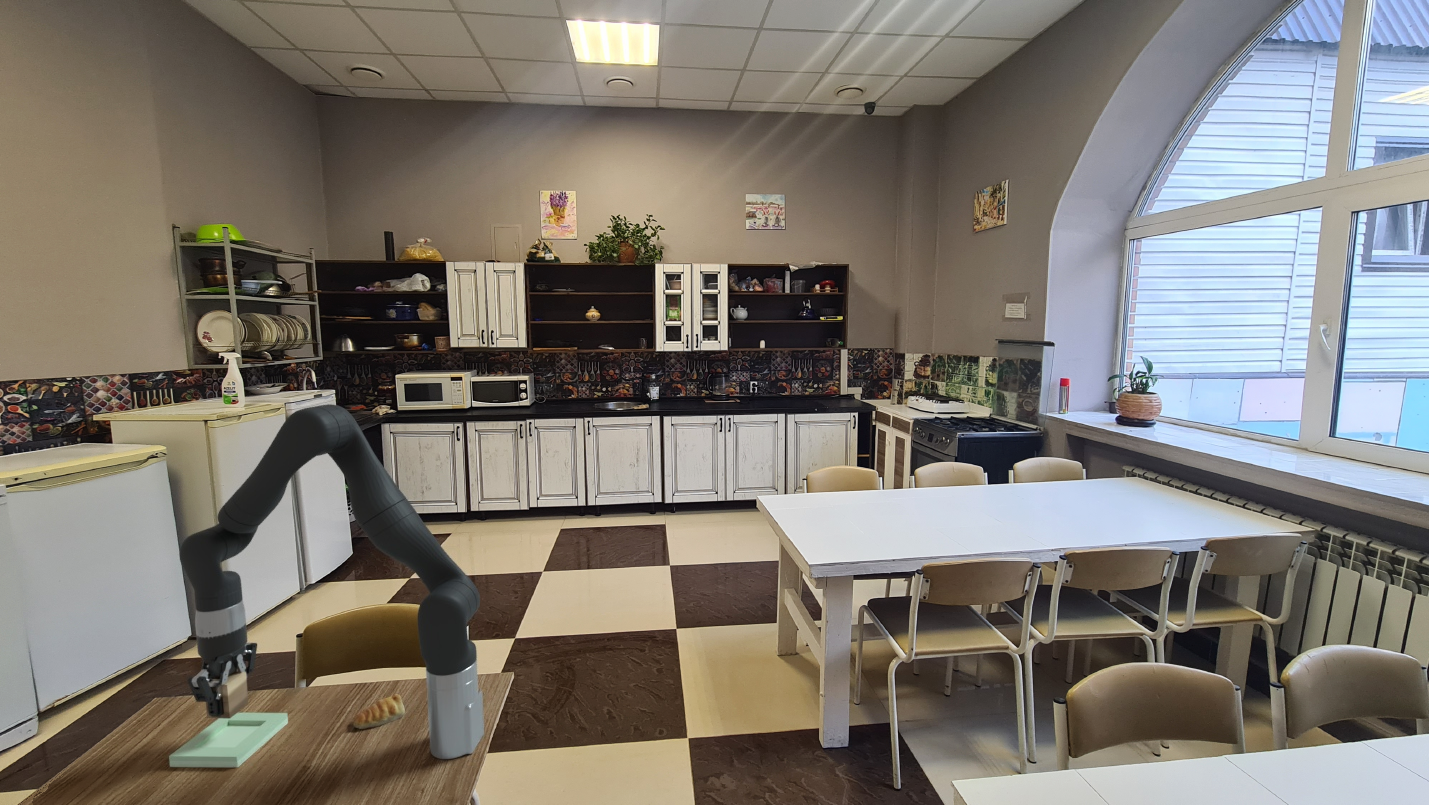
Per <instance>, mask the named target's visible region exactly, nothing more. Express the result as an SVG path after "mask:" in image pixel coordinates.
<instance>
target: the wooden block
mask: <svg viewBox="0 0 1429 805" xmlns="http://www.w3.org/2000/svg"><path fill="white" fill-rule="evenodd" d="M213 680H214V681H220V679H213ZM247 680H248V679H246V672H242V673H231V674H229V675H228V679H227V684H225V685H224V686H222V689H223V693H222V697H223V707H224V714H223V715H221V716H220V717H212V716H210V715H209V712H208V702H205V707H206V709H205V710H206V718H207V719H219V718H229V719H230V718H231V717H233V716H234V715H235V714H236V713H240V711H241V710H243V709H244V708H245V707H247V706H249V696H248V695H249V694H248V681H247ZM212 688H213V692H216V687H212Z"/></svg>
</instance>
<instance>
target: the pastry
mask: <svg viewBox="0 0 1429 805" xmlns="http://www.w3.org/2000/svg"><path fill="white" fill-rule="evenodd" d="M405 713H406V710H405V706H404V704H403V700H402V696H401V695H400V694H397V693H394V694H393V695H391V696H388V697H384V698H382V699H380V698H379V699H378V700H376V701H375V702H374V703H372V704H371V705H370V706H368V707H365V708H364V709H363V710H362V711H360V712H359V713H357V714H356V716H355V717H354V719H353V727H354V728H356V729H359V730H365V729H369V728H374V727H381V726H382V725H385V724H388V723H391V722H394V721H396V720H399V719H401V718H403V717H404V716H405Z"/></svg>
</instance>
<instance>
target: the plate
mask: <svg viewBox="0 0 1429 805" xmlns="http://www.w3.org/2000/svg"><path fill="white" fill-rule="evenodd" d="M288 716H289V715H288V712H238V713H236V714H235V715H234V716H233V717H231V718H230V719H229V718H216V720H214V721H213V722H212V723H210V724H209V725H208V726H206V727H205V728H204V729H203V730H201V732H198V733H197V734H196V735H195V736H193V737H192V738H191V739H190V740H188V741H187V742H186V743H184V744H183V745H182V746H181V747H179V748H178V749H176V750H175V751H174V752H173V753H171V754H170V755H169V756H168V761H169V767H170V768H239V767H240V766H241V765H242V764H243V763H244V762H246V761H247V760H248V759H249V758H250V757H251V756H252V755H254V754H255V753H256V752H257V751H258V750H259V749H261V748H262V746H264V745H265V744H266V743H268V742H269V740H271V739H272V738H273V737H275V735H276V734H278V733H279V731H281V730H282V729H283V728H284V727H285V726H286V725H287V724H289V717H288Z"/></svg>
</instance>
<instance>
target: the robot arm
mask: <svg viewBox="0 0 1429 805" xmlns="http://www.w3.org/2000/svg"><path fill="white" fill-rule="evenodd" d="M326 454H327V455H328V456H329V457H330V458H331V459H332V460H333V462H334V463H335V465H336V466H337V467H338V469H339V470H340V472H341V473H342V475H343V476H344V478H345V480H346V484H347V488H348V494H349V500H350V501H349V502H350V506H351V510H352V511H351V512H352V514H353V516H354V519H355V521H356V524H358V526H359V528H361V530H362V531H363V532H364V534H365V536H366V537H367V538H368V539H369V541H370V542H371V543H372V545H374V546H375V548H376V549H377V550H379V551H381V552H382V553H383V554H385V555H386V556H388V557H390V558H391V559H393V560H394V561H397V562H399V563H401V564H403V565H405V566H406V567H408V568H409V569H410V570H412V571H413V572H414V573H415V574H416V576H417V577H418V578H419V579H420V580H421V581H422V583H423V584H424V585H425V586H424V587H426V590H428V593H429V594H428V595H426V597H424V599H423V600H422V601H421V602H420V604H419V607H418V610H417V630H418V631H417V632H418V641H419V643H418V644H419V649H420V655H421V657H422V659H423V661H424V663H425V673H426V674H425V676H426V677H425V678H426V695H427V710H428V712H427V713H428V714H427V715H428V717H427V718H428V729H429V730H428V733H429V747H430V748H429V749H430V754H431V755H432V756H433V757H435V758H437V759H440V760H450V759H456V758H460V757H462V756H464V755H470V754H473V752H474V751H475V749H476V747H477V746H478V744H479V742H480V741H481V739H482V738H483V737H484V734H485V725H484V724H485V720H484V703H483V702H484V700H483V691H482V690H479V685H478V684H479V683H478V682H479V680H478V679H479V678H478V664H477V663H478V659H477V658H478V657H477V656H478V655H477V654H478V653H477V651H478V650H477V646H476V644H475V642H474V641H472V640H471V639H469V638H468V636H469V635H468V622H469V621H470V620H471V619H472V618H473V617H474V615H475V614H476V613H477V611H478V609H479V607H480V603H481V595H480V592H479V589H478V588H477V586H476V585H475V583H474V582H473V581H472V580H471V578H470V577H469V576H468V575H467V573H465V571H463V570H462V569H461V567H460V566H459V565H458V564H457V563H456V562H455V561H454V560H453V559H452V558H451V556H450V555H449V554H448V553H447V552H446V551H445V549H444V548H443V547H442V546H441V544H440V542H439V541H438V540H437V538H436V537H435V536H434V534H433V533H432V532H431V530H430V529H429V528H428V526H427V525H426V524H425V523H424V521H423V520H422V518H421V517H420V514H419V513H418V512H417V511H416V509H415V508H414V507H413V505H412V504H411V502H410V501H409V500H408V498H407V497H406V496H405V495H404V493H403V491H401V490H400V488H399V487H398V485H397V484H396V483H395V481H394V480H393V479H392V477H391V476H390V474H389V473H388V471H387V470H386V469H385V467H384V465H383V464H382V462H381V461H380V460H379V459H378V457H377V455H376V454H375V452H374V451H373V448H372V447H371V445H370V443H369V441H368V439H367V438H366V436H365V435H364V432H363V431H362V429H361V427H360V426H359V423H358V422H357V421H356V419H355V417H353V415H352V413H350V412H349V411H348V410H347V409H346V408H344V407H342V406H340V405H338V404H321V405H316V406H310V407H304V408H302V409H299V410H296V411H295V412H293V413H291V414H290V415H289V416H287V418H286V419H285V421H284V423H283V424H282V426H281V427H280V429H279V430H278V432H277V433H276V435H275V437H274V438H273V440H272V442H271V444H270V445H269V446H268V449H266V451H265V453H264V454H263V457H262V458H261V459H260V461H259V462H258V464H257V465H256V467H255V468H254V470H253V471H252V472H251V473H250V475H249V476H248V477H247V478H246V479H245V481H244V482H243V483H242V484H241V485H240V487H239V488H238V489H236V491H235V492H234V493H233V494H232V495H231V496H230V498H229V499H228V500H227V501H226V502H225V503H224V504H223V506H222V507H220V509H219V511H218V514H217V521H218V522H217V524H216V525H213V526H212V527H208V528H206V529H203V530H200V531H197V532H194V533H192V534H191V535H189V536H187V537H186V538H185V539H184V540H183V541H182V543H181V546H180V547H179V554H178V556H179V561H180V563H181V566H182V568H183V571H184V572H185V574H186V576H187V578H188V580H189V582H190V584H191V586H192V588H193V592H194V604H195V619H194V625H195V626H194V627H195V634H196V635H195V636H196V646H197V647H196V648H197V654H198V656H199V657H200V658H201V659H202V665H201V670H200V671H199V672H198V673H197V674H196V675H191V676H189V677H188V678H187V684H188V686H189V687H190V690H191V693H192V694H193V696H194V699H195V701H196V702H198V703H206V702H208V712H209V715H210V716H212V717H220V716H221V715H223V714H224V707H223V697H222V693H223V689H222V686H224V685H225V684H227V679H228V675H229V674H231V673H242V672H246V680H248V675H249V674H252V673H254V670H255V664H256V656H257V652H258V650H257V649H258V643H257V642H248V631H247V619H246V618H247V616H246V608H245V604H244V601H243V598H244V597H243V589H242V588H243V586H242V579H241V576H240V574H239V573H238V572H236V571H232V570H223V569H222V567H221V563H222V562H225V561H227V560H229V559H232V558H235V557H236V556H238V555H239V554H240V553H242V552H243V551H244V550H245V549H246V548H247V547H248V546H249V545H250V544H251V542H252V540H253V538H254V536H255V535H256V532H257V531H258V528H259V526H260V525H261V524H262V523H263V522H264V521H265V520H266V519H267V518H268V517H269V515H270V514H272V512H274V510H275V509H276V508H277V506H278V505H279V504H280V503H281V502H282V499H283V497H284V496H285V493H286V490H287V487H288V484H289V482H290V481H291V479H292V478H293V476H294V475H295V474H296V473H297V472H298V471H299V470H300V469H301V468H302V467H303V466H305V465H306V464H307V463H309V462H310V461H312V459H314V458H316V457H317V456H318V457H319V456H322V455H326ZM246 663H247V666H246ZM213 679H220V681H214V680H213ZM212 687H216V692H213V688H212Z"/></svg>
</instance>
